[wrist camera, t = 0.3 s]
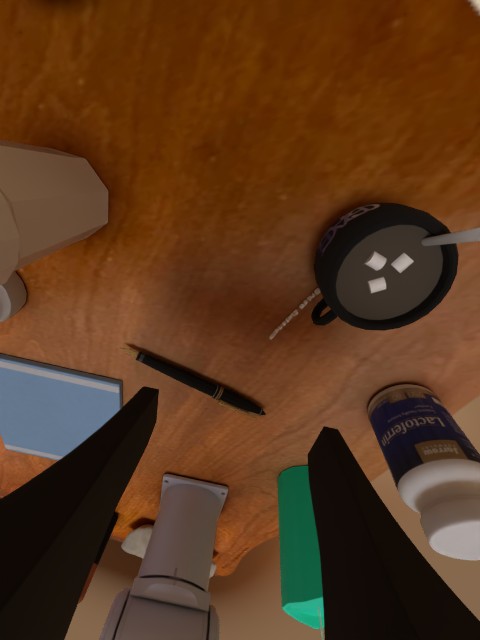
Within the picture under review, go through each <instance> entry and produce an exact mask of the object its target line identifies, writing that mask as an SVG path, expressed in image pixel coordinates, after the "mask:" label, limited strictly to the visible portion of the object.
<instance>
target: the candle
mask: <svg viewBox="0 0 480 640" xmlns="http://www.w3.org/2000/svg"><path fill="white" fill-rule="evenodd" d="M278 507H279V536H280V565H281V595H282V609H283V610H284V611H285V612H286V613H287V614H289V615H290V616H292V617H293V618H295V619H296V620H297V621H299V622H302V623H304V624H306V625H308V626H311V627H312V628H315V629H320V628H321V637H322V640H324V638H323V630H322V628H324V608H323V590H322V576H321V562H320V552H319V544H318V537H317V531H316V524H315V518H314V512H313V505H312V499H311V492H310V485H309V475H308V466H295V467H291V468H289V469H287V470H285V471H282V472H281V474H280V476H279V478H278Z"/></svg>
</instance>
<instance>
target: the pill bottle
mask: <svg viewBox="0 0 480 640" xmlns="http://www.w3.org/2000/svg"><path fill="white" fill-rule="evenodd" d="M368 416H369V419H370V422H371V425H372V427H373V430H374V432H375V435H376V437H377V440H378V442H379V445H380V447H381V449H382V452H383V454H384V457H385V460H386V462H387V465H388V467H389V470H390V472H391V474H392V477H393V480H394V482H395V485H396V487H397V489H398V492H399V494H400V496H401V498H402V499H403V501H404V502H405V503H406V504H407V505H408V506H409V507H410V508H411V509H412V510H414V511H416V512H417V513H419V514H421V519H420V522H421V526H422V528H423V531H424V533H425V535H426V537H427V540H428V542H429V544H430V546H431V547H432V548H433V549H434V550H435V551H436V552H438V553H440V554H442V555H445V556H449V557H452V558H456V559H462V560H463V559H464V560H480V454H479V453H478V452H477V450H476V449H475V448H474V446H473V445H472V444H471V442H470V441H469V439H468V438H467V437H466V436H465V434H464V433H463V431H462V430H461V429H460V427H459V426H458V425H457V423H456V422H455V420H454V419H453V418H452V416H451V415H450V414H449V412H448V411H447V410H446V408H445V407H444V405H443V404H442V403H441V401H440V400H439V399H438V397H437V396H436V395H435V394H434V393H433V392H432V391H430V390H428V389H427V388H424V387H422V386H418V385H411V384H404V385H397V386H393V387H390V388H387V389H385V390H383V391H382V392H380V393H379V394H377V395H376V396H375V397H374V398H373V399H372V401H371V402H370V404H369V407H368Z"/></svg>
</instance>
